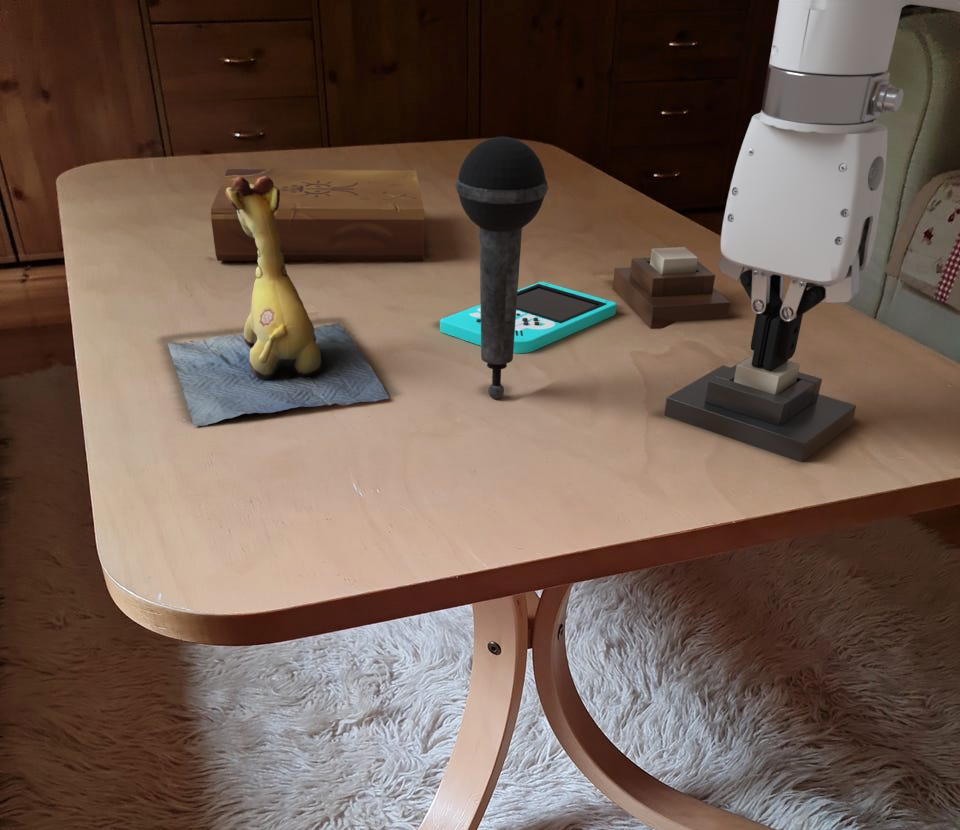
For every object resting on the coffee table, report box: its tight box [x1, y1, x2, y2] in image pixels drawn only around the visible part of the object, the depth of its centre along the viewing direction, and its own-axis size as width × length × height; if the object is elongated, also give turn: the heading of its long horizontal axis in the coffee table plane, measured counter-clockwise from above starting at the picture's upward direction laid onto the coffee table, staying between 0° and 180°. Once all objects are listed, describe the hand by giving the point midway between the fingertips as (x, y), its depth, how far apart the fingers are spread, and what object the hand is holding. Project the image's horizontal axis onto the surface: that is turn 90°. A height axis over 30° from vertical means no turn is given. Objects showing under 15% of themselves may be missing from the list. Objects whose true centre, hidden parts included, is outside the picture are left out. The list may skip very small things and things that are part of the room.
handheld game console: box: [439, 281, 617, 354], centre depth 99 cm, size 10×16×1 cm, turn 139°
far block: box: [612, 256, 731, 330], centre depth 102 cm, size 12×8×4 cm, turn 12°
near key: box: [734, 355, 801, 395], centre depth 79 cm, size 4×4×2 cm
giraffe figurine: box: [166, 176, 390, 427], centre depth 83 cm, size 16×18×16 cm
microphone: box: [455, 136, 549, 400], centre depth 79 cm, size 7×7×20 cm
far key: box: [650, 246, 699, 274], centre depth 101 cm, size 4×4×2 cm
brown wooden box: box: [210, 168, 425, 262], centre depth 118 cm, size 23×19×6 cm
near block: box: [663, 356, 857, 463], centre depth 80 cm, size 12×9×4 cm
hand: (770, 363), depth 78 cm, fingers closed
